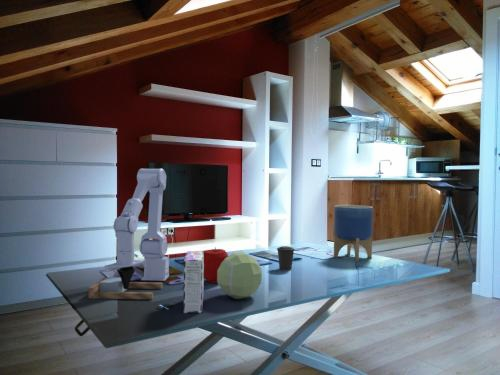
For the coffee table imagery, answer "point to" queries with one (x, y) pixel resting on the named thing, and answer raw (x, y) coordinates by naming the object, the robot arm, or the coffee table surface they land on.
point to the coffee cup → (285, 257)
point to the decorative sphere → (239, 275)
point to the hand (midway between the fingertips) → (125, 288)
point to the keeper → (112, 285)
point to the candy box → (193, 281)
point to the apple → (213, 263)
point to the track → (96, 293)
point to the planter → (353, 228)
